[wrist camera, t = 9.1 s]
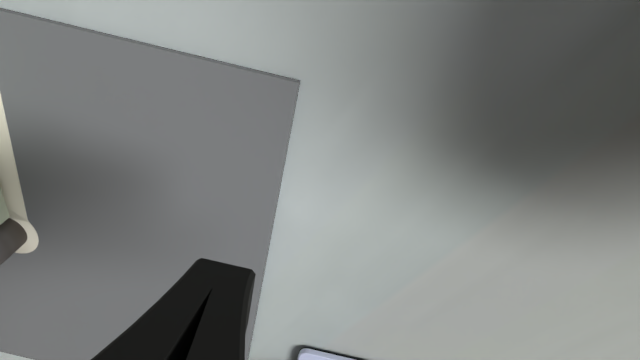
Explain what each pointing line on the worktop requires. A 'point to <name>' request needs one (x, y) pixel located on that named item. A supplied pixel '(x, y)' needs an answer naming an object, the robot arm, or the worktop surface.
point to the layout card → (126, 178)
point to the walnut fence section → (10, 238)
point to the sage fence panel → (3, 209)
